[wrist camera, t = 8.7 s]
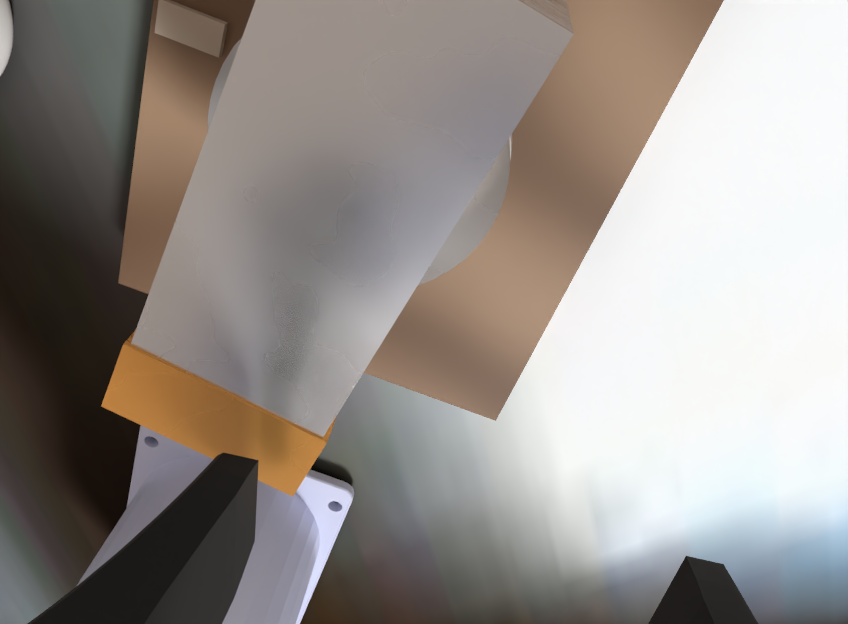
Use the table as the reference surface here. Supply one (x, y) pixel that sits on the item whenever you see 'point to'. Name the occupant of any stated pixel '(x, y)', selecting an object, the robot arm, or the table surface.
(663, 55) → the mount plate
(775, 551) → the table surface
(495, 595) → the table surface
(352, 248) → the grey and orange block
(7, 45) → the drinking glass
